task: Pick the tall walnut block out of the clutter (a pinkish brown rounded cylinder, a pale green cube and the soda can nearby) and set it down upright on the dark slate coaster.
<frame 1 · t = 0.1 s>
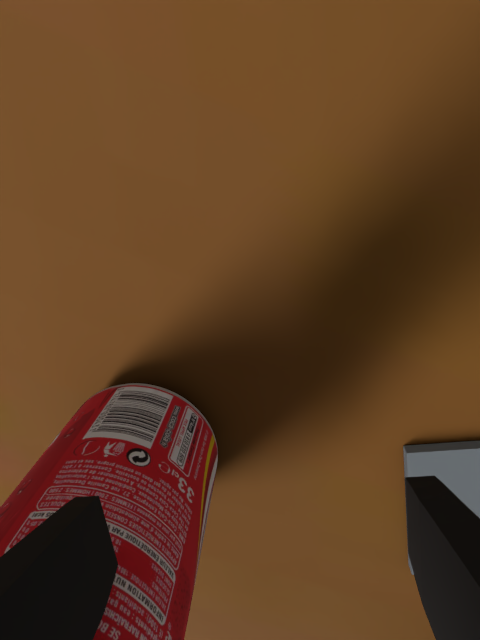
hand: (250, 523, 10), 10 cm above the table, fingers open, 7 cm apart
soda can: (151, 435, 21), on the table
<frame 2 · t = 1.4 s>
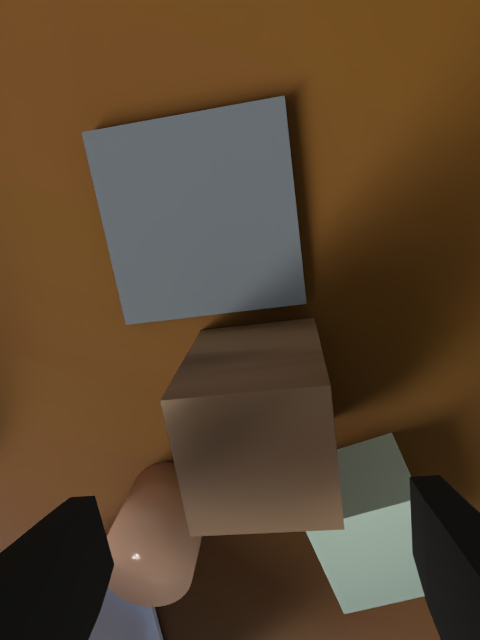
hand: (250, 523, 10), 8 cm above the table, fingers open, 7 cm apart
slate coaster: (200, 219, 16), on the table
walnut block: (264, 375, 17), on the table
pale green cube: (360, 483, 19), on the table
pinkish brown rounded cylinder: (171, 496, 20), on the table
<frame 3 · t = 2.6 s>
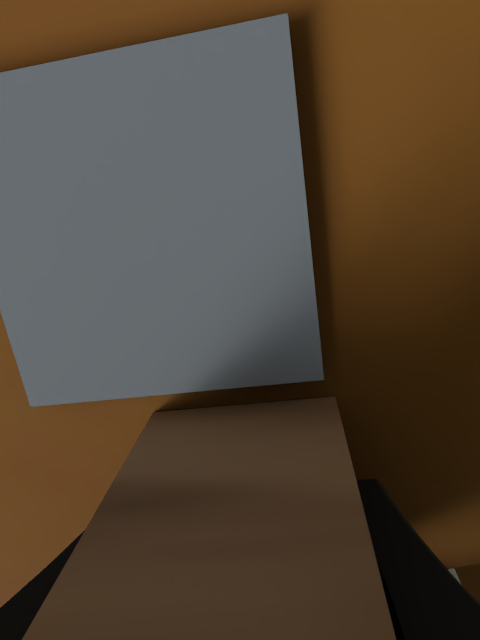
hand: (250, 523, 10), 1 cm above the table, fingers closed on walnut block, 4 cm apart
slate coaster: (147, 238, 9), on the table
walnut block: (254, 482, 11), on the table, touching gripper
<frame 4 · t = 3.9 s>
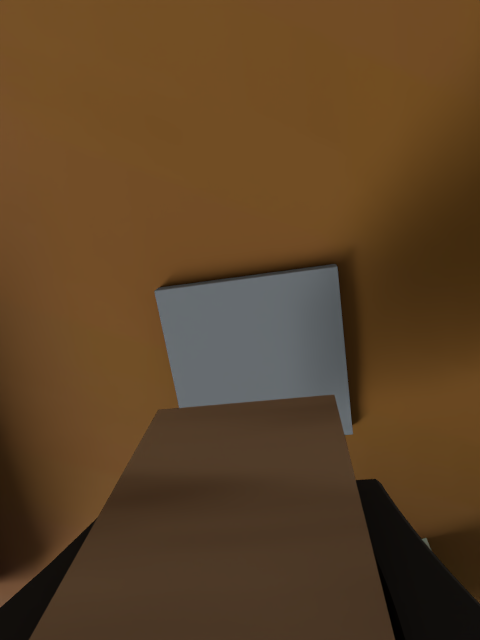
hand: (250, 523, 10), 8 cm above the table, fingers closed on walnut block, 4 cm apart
slate coaster: (257, 359, 18), on the table
walnut block: (256, 477, 11), point 7 cm above the table, touching gripper
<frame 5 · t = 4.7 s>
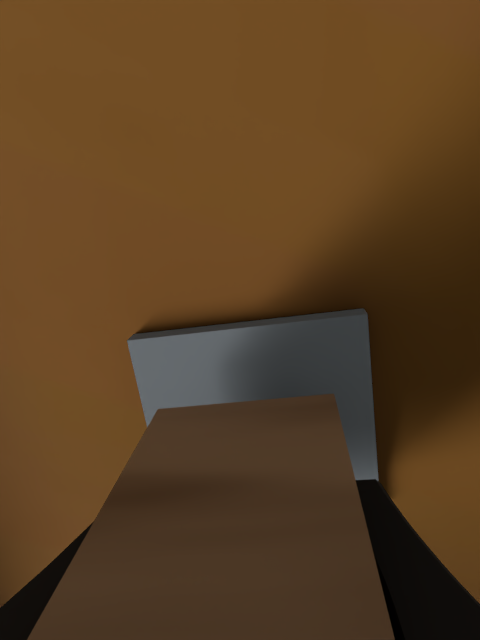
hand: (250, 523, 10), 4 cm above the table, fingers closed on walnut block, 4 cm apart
slate coaster: (259, 424, 14), on the table
walnut block: (255, 477, 11), point 3 cm above the table, touching gripper
when the fingers open (3 cm above the table, at t = 5.4 s): walnut block stays where it is, resting on slate coaster.
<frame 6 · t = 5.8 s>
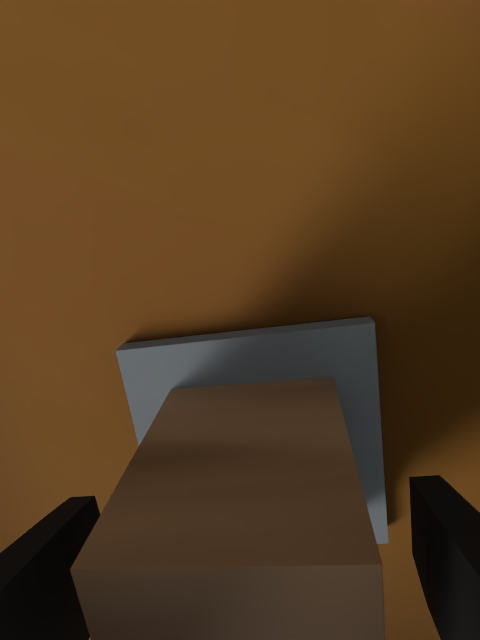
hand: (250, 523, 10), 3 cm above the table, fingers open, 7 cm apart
slate coaster: (258, 439, 13), on the table
walnut block: (259, 453, 12), point 1 cm above the table, touching slate coaster
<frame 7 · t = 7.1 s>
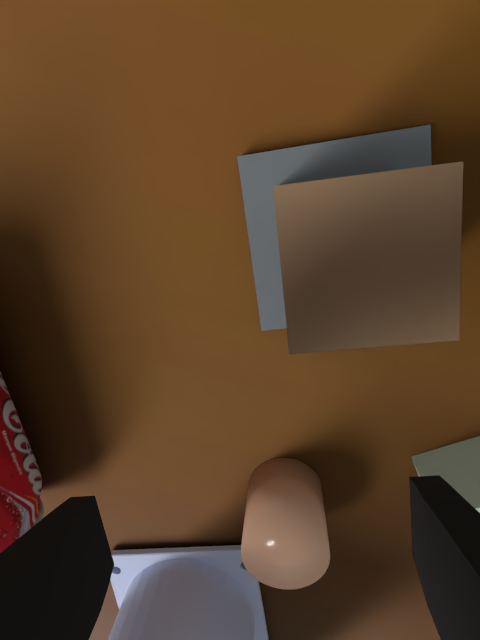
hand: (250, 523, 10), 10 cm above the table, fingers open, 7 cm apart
slate coaster: (337, 234, 17), on the table
walnut block: (339, 239, 17), point 1 cm above the table, touching slate coaster
pale green cube: (466, 477, 20), on the table
pinkish brown rounded cylinder: (284, 488, 21), on the table
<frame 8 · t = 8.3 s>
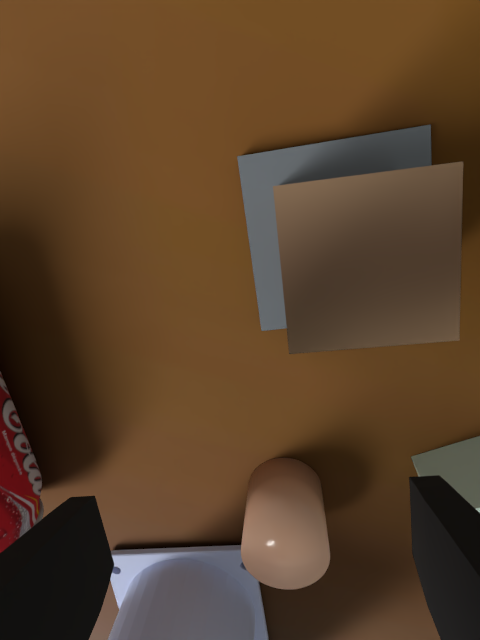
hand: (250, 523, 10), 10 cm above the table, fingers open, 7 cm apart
slate coaster: (337, 235, 17), on the table
walnut block: (339, 239, 17), point 1 cm above the table, touching slate coaster
pale green cube: (466, 477, 20), on the table
pinkish brown rounded cylinder: (284, 488, 21), on the table
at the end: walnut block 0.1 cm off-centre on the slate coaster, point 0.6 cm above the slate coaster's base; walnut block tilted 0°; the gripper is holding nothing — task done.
